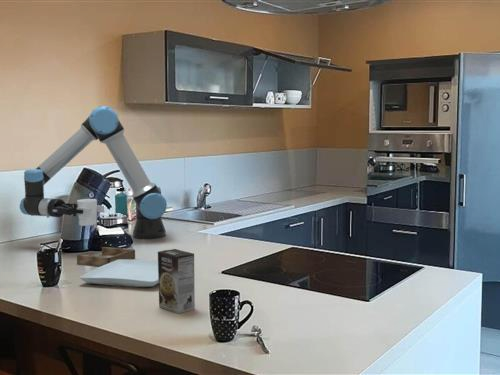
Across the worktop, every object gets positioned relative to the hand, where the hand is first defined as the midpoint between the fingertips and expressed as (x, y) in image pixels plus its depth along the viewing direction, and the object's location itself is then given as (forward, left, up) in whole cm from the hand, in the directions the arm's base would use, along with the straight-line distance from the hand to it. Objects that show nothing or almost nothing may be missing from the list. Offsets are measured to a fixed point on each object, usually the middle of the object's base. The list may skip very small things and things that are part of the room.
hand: (97, 210), depth 238 cm
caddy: (-2, +13, -18) cm, 23 cm away
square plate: (-10, +42, -19) cm, 47 cm away
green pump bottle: (-14, -71, -18) cm, 74 cm away
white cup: (+4, -3, -6) cm, 8 cm away
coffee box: (-18, +80, -18) cm, 84 cm away
